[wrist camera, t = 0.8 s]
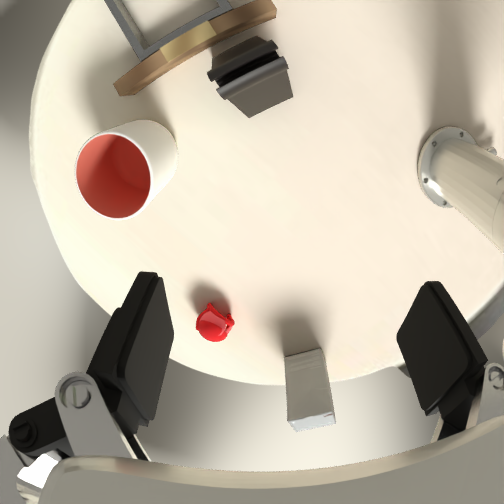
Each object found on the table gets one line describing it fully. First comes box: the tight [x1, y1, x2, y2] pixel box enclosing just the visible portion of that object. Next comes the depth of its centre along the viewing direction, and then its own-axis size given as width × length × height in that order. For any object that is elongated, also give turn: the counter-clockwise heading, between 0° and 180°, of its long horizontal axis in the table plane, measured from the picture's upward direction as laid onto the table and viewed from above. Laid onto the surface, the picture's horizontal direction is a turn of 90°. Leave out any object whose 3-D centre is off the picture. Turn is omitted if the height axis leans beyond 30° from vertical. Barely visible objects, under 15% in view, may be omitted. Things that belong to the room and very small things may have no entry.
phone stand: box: [207, 36, 293, 118], centre depth 23 cm, size 9×6×12 cm, turn 28°
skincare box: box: [284, 348, 336, 432], centre depth 49 cm, size 8×7×16 cm
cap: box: [196, 303, 234, 342], centre depth 47 cm, size 8×6×6 cm
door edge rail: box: [113, 0, 277, 96], centre depth 24 cm, size 20×2×4 cm, turn 117°
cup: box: [75, 120, 178, 220], centre depth 29 cm, size 10×10×10 cm
